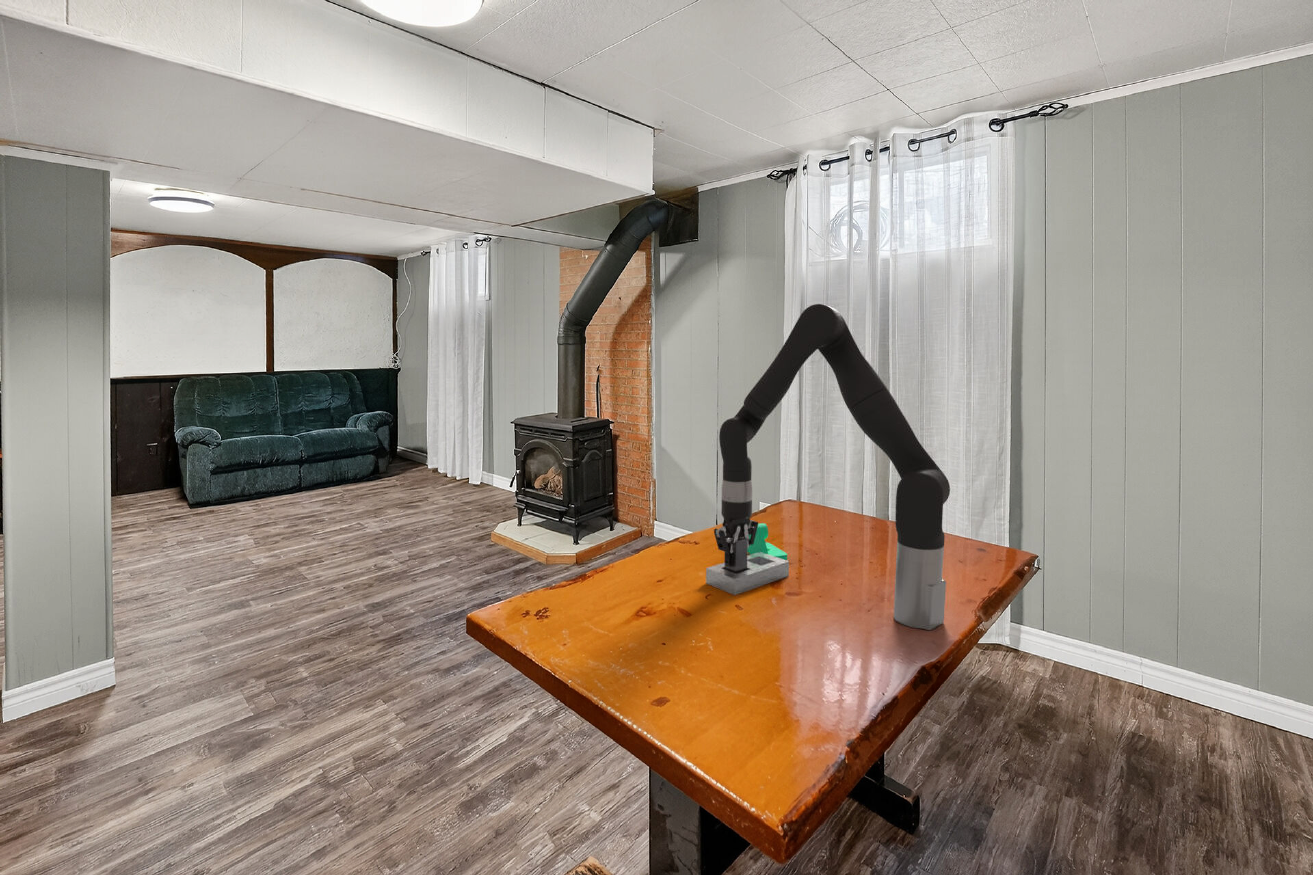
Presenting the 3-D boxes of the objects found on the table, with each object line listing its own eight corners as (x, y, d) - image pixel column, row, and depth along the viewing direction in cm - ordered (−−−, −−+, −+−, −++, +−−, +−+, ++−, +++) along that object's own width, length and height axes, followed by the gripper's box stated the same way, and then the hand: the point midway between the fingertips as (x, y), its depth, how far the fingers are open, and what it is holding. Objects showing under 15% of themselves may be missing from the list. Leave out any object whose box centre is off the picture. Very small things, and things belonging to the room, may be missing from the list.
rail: (788, 575, 163) (788, 561, 162) (734, 595, 151) (735, 579, 150) (759, 565, 171) (759, 551, 170) (706, 583, 158) (706, 568, 158)
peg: (747, 576, 157) (747, 538, 156) (735, 580, 155) (736, 541, 153) (735, 572, 160) (735, 534, 159) (724, 576, 158) (724, 537, 157)
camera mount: (788, 563, 173) (789, 527, 172) (763, 566, 171) (764, 530, 169) (767, 550, 184) (768, 516, 183) (744, 553, 182) (744, 519, 181)
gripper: (727, 504, 147) (726, 574, 150) (767, 495, 156) (766, 562, 159) (705, 499, 153) (705, 566, 156) (745, 490, 162) (744, 554, 164)
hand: (736, 563), depth 157 cm, fingers closed on peg, 4 cm apart
